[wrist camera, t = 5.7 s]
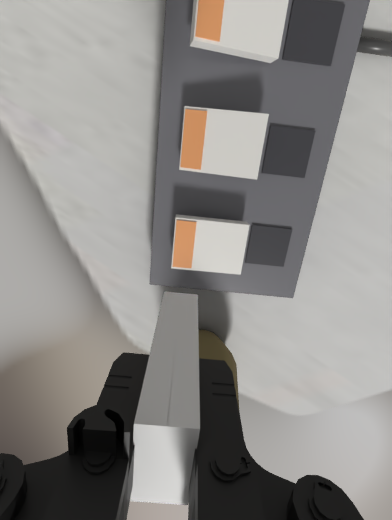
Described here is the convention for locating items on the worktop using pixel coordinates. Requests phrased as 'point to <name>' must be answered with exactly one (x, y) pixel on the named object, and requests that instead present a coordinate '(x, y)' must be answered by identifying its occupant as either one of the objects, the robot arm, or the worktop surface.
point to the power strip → (275, 143)
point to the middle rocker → (222, 141)
